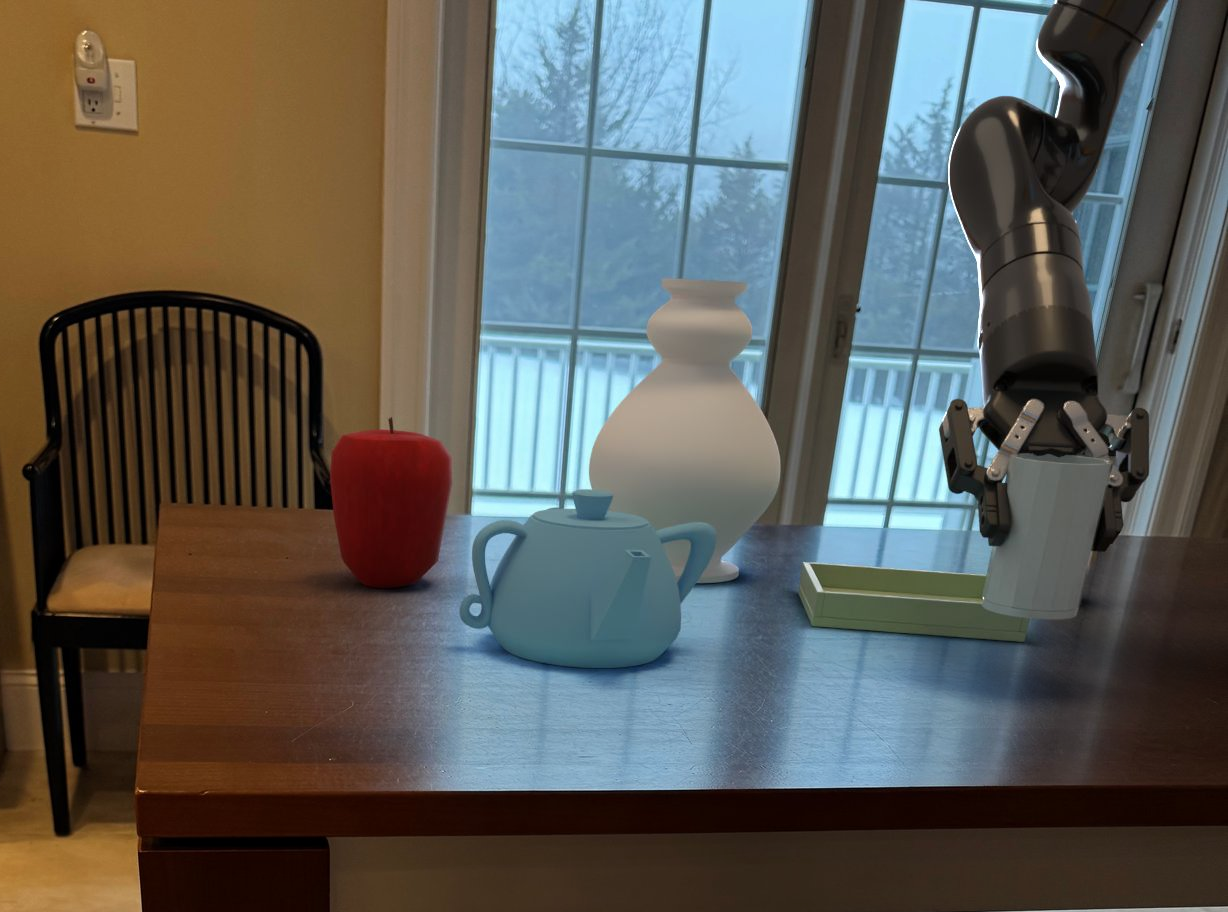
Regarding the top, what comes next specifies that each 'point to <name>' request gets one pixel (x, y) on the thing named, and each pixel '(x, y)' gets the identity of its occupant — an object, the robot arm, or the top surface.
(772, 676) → the top surface
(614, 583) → the teapot
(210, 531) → the top surface
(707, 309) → the decorative vase
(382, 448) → the apple
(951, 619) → the tray
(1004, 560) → the container
